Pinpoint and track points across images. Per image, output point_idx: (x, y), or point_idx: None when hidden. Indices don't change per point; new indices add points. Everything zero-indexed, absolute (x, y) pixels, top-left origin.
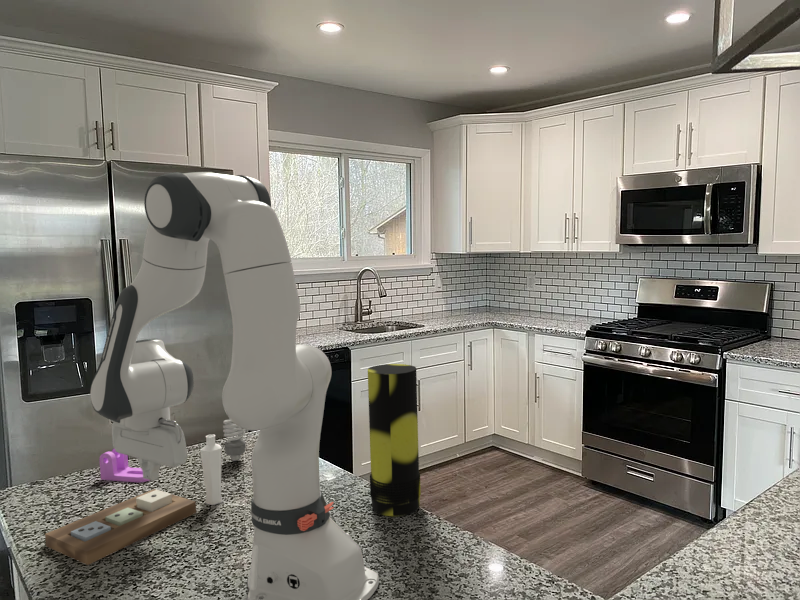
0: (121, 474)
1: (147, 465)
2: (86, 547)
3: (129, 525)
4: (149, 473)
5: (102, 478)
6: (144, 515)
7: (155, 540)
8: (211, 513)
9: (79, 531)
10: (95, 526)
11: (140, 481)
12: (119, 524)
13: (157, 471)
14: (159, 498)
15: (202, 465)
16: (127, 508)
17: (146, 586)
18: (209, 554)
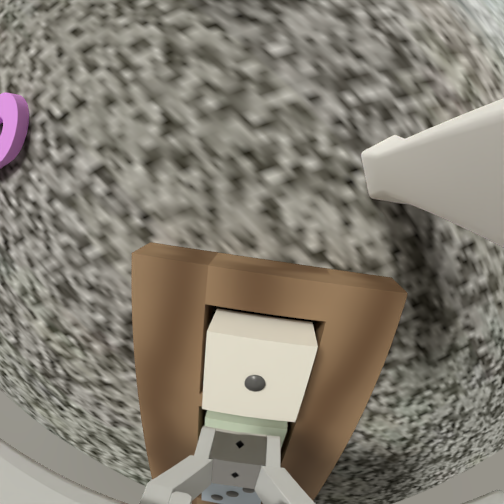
0: None
1: (195, 485)
2: None
3: (302, 464)
4: (255, 486)
5: None
6: (297, 426)
7: (372, 426)
8: (439, 261)
9: (219, 499)
10: (230, 487)
11: (14, 156)
12: None
13: (278, 468)
14: (299, 392)
15: (458, 225)
16: (211, 422)
17: (433, 481)
18: (497, 401)
